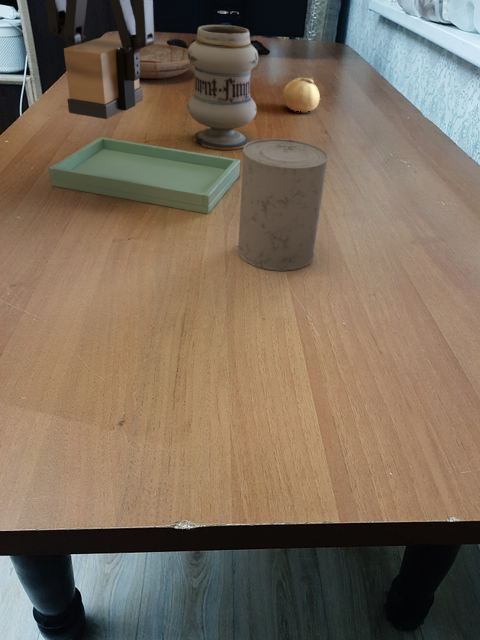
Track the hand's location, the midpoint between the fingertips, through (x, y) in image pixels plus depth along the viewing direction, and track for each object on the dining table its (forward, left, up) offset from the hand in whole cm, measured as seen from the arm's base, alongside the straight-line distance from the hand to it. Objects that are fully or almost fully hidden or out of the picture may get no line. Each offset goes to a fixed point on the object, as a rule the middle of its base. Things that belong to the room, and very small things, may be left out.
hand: (107, 103), depth 72 cm
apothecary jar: (+6, +31, -13) cm, 34 cm away
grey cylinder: (+25, -7, -13) cm, 29 cm away
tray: (+2, +8, -13) cm, 15 cm away
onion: (+15, +59, -13) cm, 62 cm away
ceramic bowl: (-26, +72, -13) cm, 78 cm away
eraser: (0, 0, 0) cm, 0 cm away
